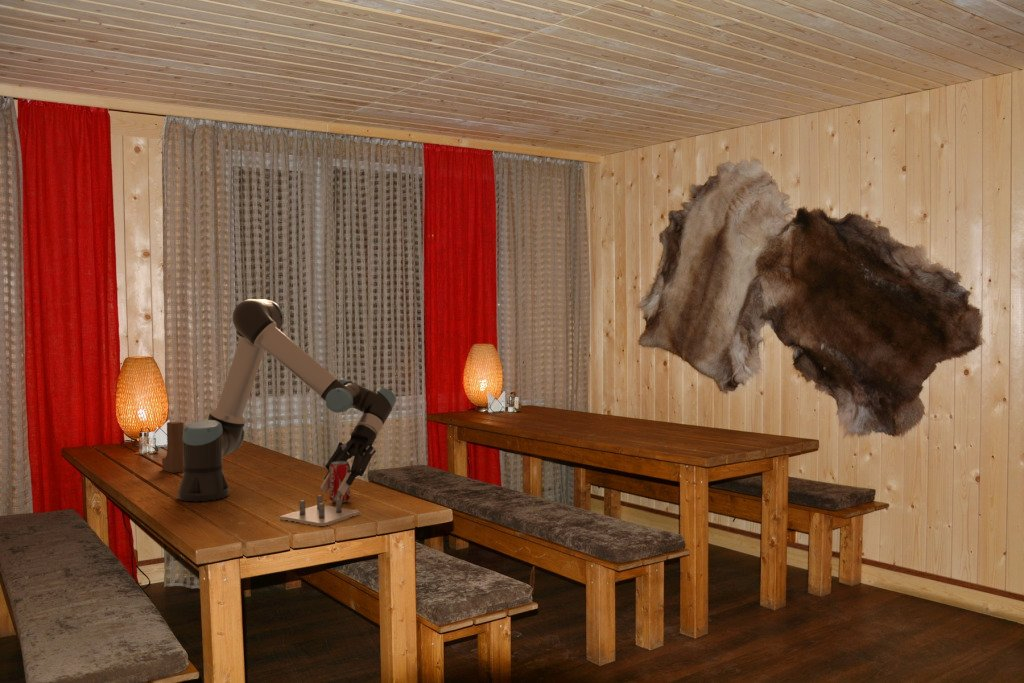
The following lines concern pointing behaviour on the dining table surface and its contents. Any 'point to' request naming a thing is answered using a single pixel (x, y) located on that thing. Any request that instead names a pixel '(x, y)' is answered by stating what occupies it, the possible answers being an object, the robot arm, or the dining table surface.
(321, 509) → the standoff pins
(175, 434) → the wooden block
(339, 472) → the soda can
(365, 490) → the dining table surface
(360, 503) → the dining table surface
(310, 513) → the base plate
